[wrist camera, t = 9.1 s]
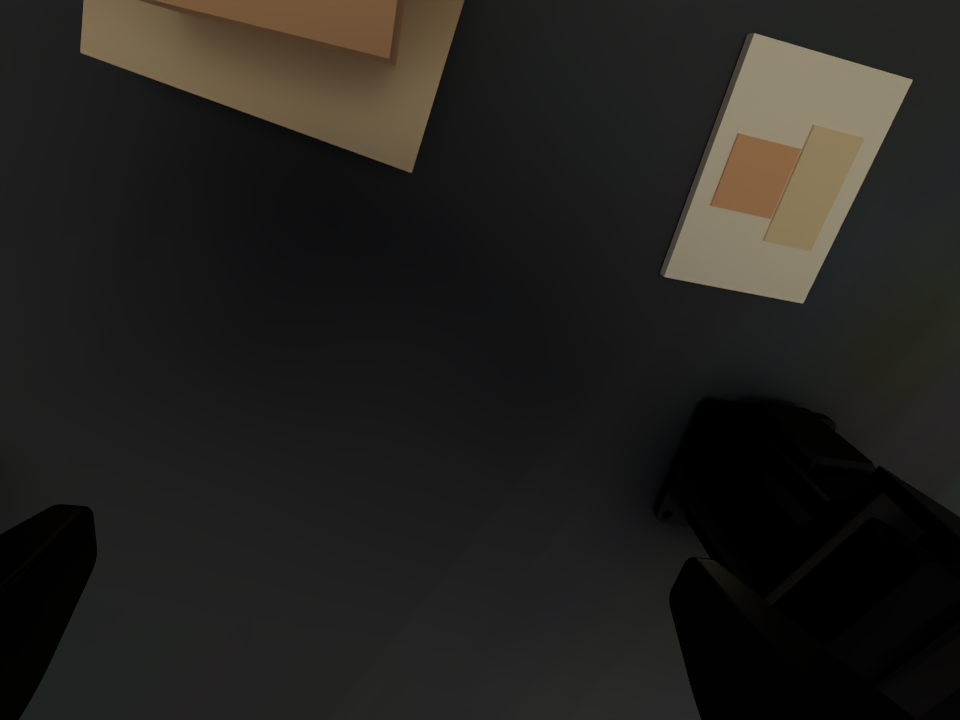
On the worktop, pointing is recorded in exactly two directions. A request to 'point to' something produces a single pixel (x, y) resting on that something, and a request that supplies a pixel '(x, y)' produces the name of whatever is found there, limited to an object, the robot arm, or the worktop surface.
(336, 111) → the maple base block
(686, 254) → the card
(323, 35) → the terracotta cube
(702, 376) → the worktop surface
